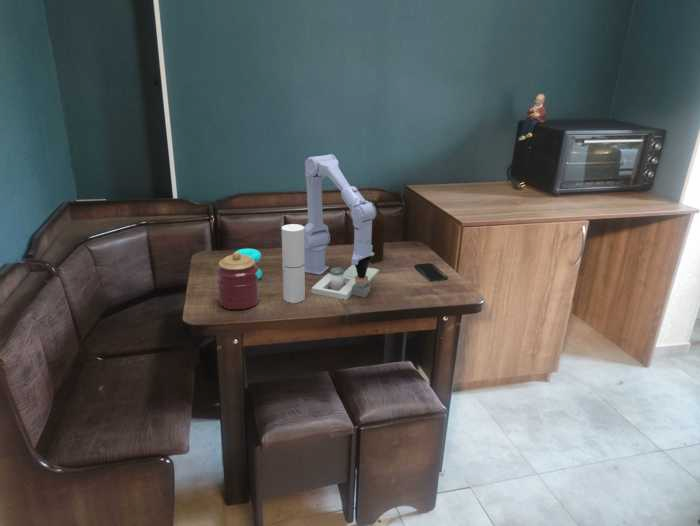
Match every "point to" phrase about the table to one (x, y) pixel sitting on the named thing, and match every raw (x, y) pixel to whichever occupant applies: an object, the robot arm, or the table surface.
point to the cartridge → (337, 278)
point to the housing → (344, 292)
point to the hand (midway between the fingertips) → (361, 276)
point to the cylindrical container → (293, 263)
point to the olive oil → (377, 233)
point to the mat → (353, 272)
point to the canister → (238, 281)
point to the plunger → (361, 281)
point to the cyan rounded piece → (253, 254)
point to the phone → (430, 272)
